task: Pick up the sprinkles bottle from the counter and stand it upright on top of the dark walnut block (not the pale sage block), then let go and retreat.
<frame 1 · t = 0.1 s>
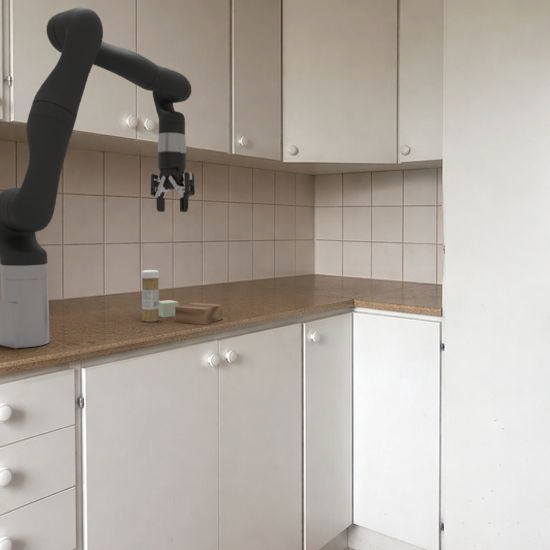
hand: (172, 211, 160), 29 cm above the worktop, fingers open, 8 cm apart
sage block: (166, 315, 164), on the worktop
walnut block: (199, 320, 156), on the worktop
sprinkles bottle: (150, 321, 155), on the worktop
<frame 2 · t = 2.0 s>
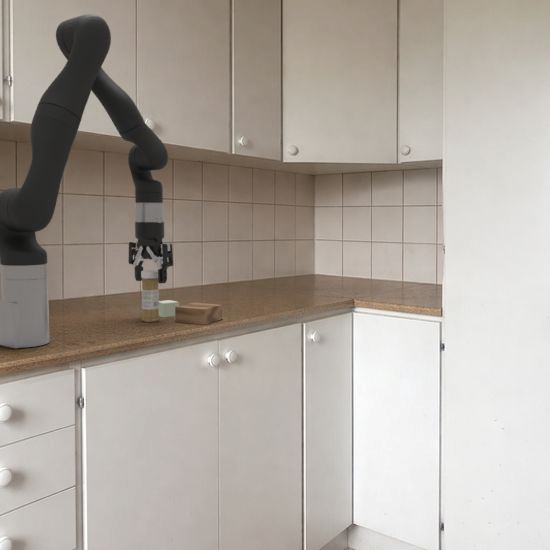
hand: (150, 281, 154), 10 cm above the worktop, fingers open, 8 cm apart
nothing on the worktop moved.
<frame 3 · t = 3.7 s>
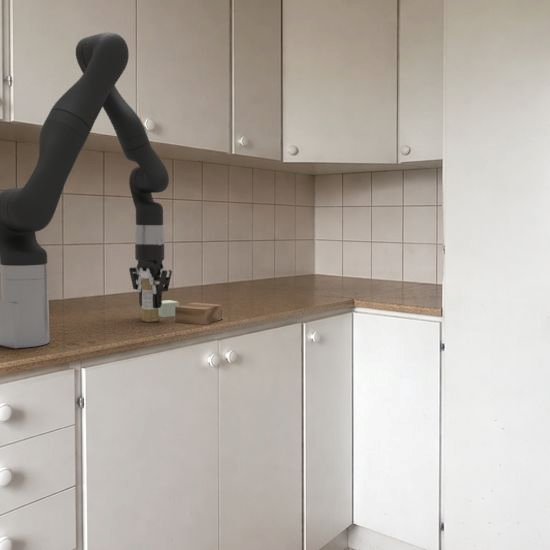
hand: (150, 306, 155), 4 cm above the worktop, fingers closed on sprinkles bottle, 4 cm apart
sprinkles bottle: (150, 321, 155), on the worktop, touching gripper
everything else where it was.
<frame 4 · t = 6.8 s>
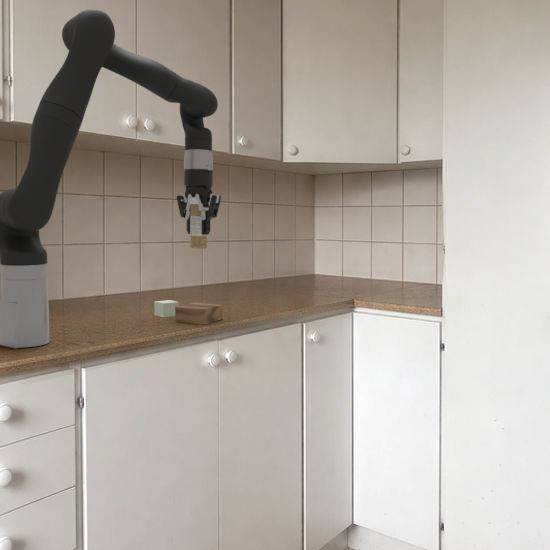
hand: (198, 233, 154), 23 cm above the worktop, fingers closed on sprinkles bottle, 4 cm apart
sprinkles bottle: (198, 249, 154), point 19 cm above the worktop, touching gripper
everything else where it was.
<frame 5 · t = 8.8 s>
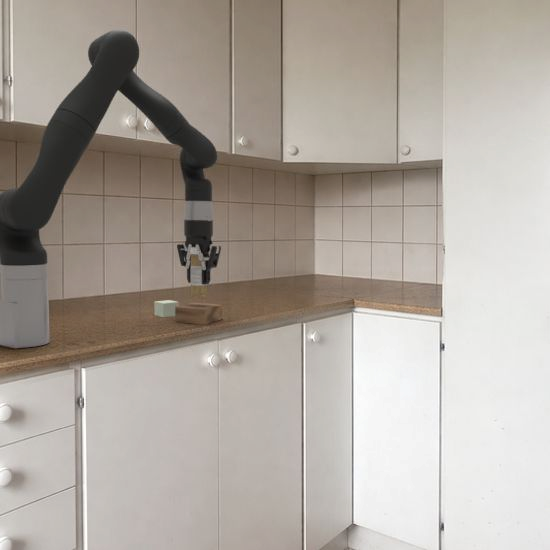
hand: (198, 283, 155), 10 cm above the worktop, fingers closed on sprinkles bottle, 4 cm apart
sprinkles bottle: (198, 297, 156), point 6 cm above the worktop, touching gripper
everything else where it was.
when the fingers open (8 cm above the worktop, at t = 9.9 s): sprinkles bottle stays where it is, resting on walnut block.
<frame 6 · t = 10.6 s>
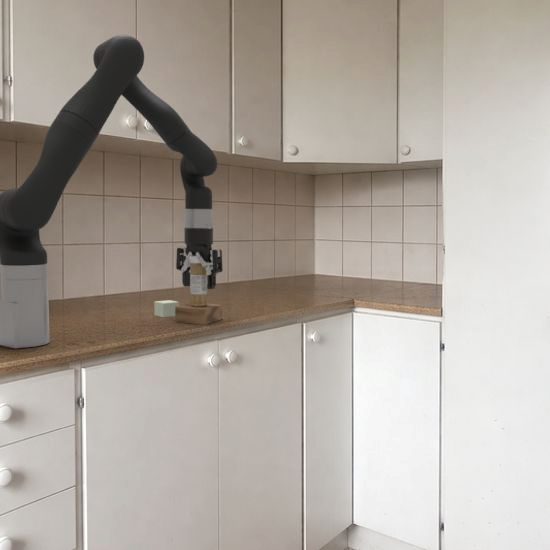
hand: (198, 287, 155), 9 cm above the worktop, fingers open, 8 cm apart
sprinkles bottle: (198, 306, 156), point 4 cm above the worktop, touching walnut block
everything else where it was.
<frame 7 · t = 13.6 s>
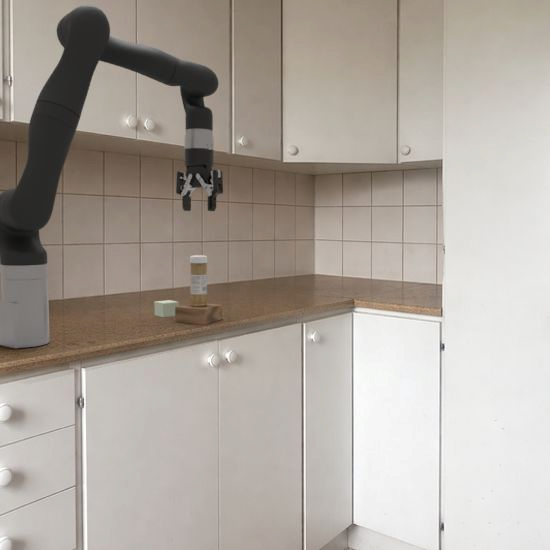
hand: (199, 210, 153), 29 cm above the worktop, fingers open, 8 cm apart
nothing on the worktop moved.
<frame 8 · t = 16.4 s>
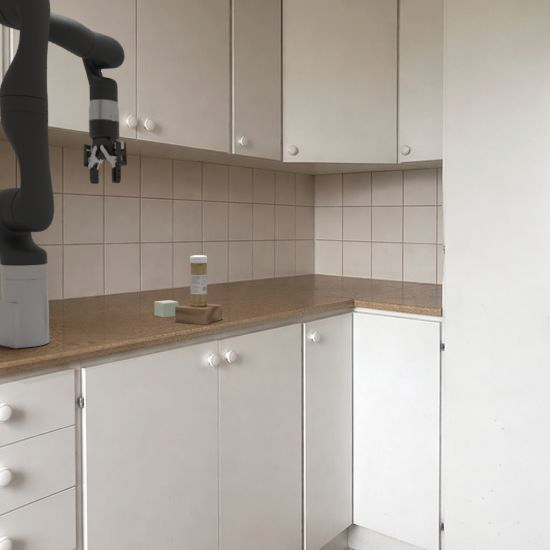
hand: (105, 183, 153), 36 cm above the worktop, fingers open, 8 cm apart
nothing on the worktop moved.
at the end: sprinkles bottle 0.1 cm off-centre on the walnut block, point 3.8 cm above the walnut block's base; sprinkles bottle tilted 0°; the gripper is holding nothing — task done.
